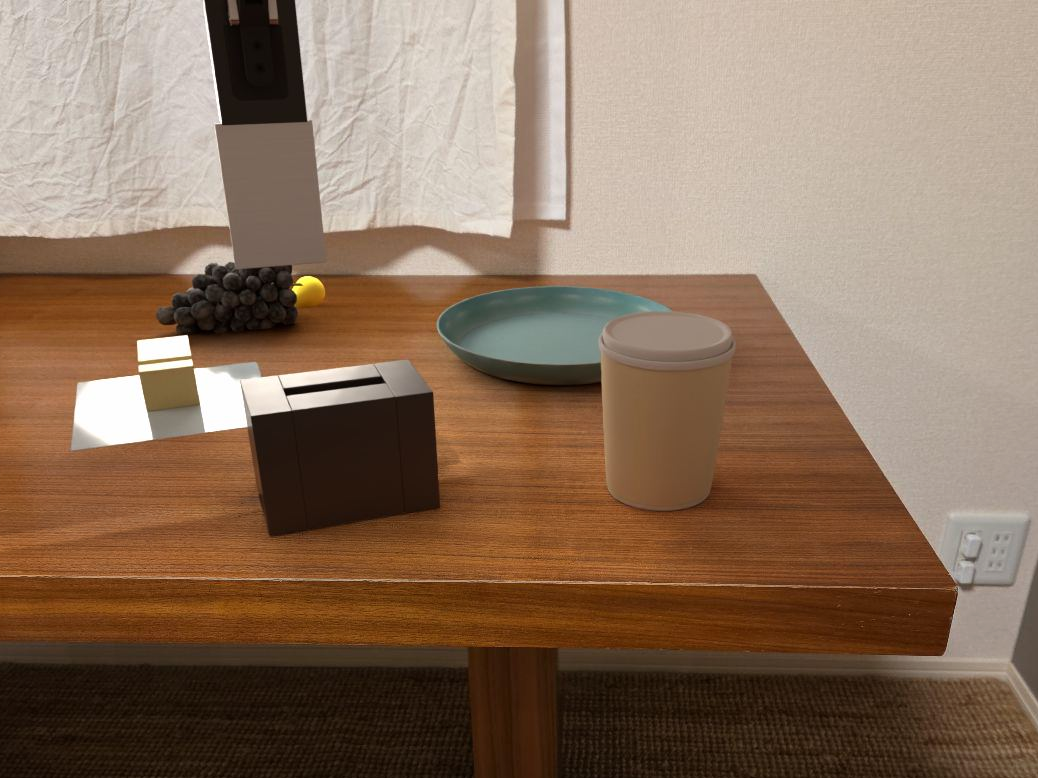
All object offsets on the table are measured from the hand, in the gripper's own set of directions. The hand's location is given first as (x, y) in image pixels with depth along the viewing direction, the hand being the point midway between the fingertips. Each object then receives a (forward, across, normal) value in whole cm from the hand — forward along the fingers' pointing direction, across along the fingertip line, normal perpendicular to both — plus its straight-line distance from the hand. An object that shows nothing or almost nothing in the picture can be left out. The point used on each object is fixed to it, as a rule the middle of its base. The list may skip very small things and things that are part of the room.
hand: (259, 94), depth 63 cm
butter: (+26, -22, -9) cm, 35 cm away
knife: (+11, 0, 0) cm, 11 cm away
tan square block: (+26, -17, -9) cm, 32 cm away
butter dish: (+27, -18, -9) cm, 33 cm away
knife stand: (+27, +4, +2) cm, 27 cm away
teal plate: (+27, -21, +28) cm, 44 cm away
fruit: (+27, -39, -2) cm, 47 cm away
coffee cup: (+27, +10, +24) cm, 38 cm away
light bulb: (+27, -45, +6) cm, 53 cm away
